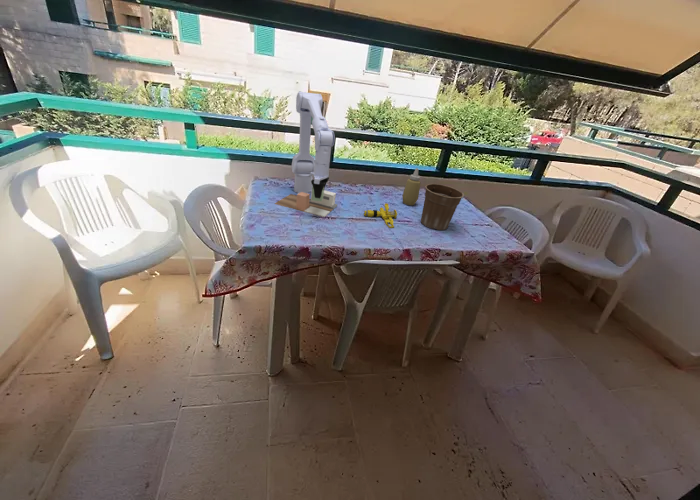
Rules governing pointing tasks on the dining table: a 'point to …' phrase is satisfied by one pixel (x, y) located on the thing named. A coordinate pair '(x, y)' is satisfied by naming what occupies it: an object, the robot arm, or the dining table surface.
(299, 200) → the terracotta block
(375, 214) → the sprinkler
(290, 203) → the service board
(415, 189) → the squeeze bottle
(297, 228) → the dining table surface
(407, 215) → the dining table surface
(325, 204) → the mounted unit
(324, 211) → the mat
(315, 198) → the sage block
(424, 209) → the plant pot
